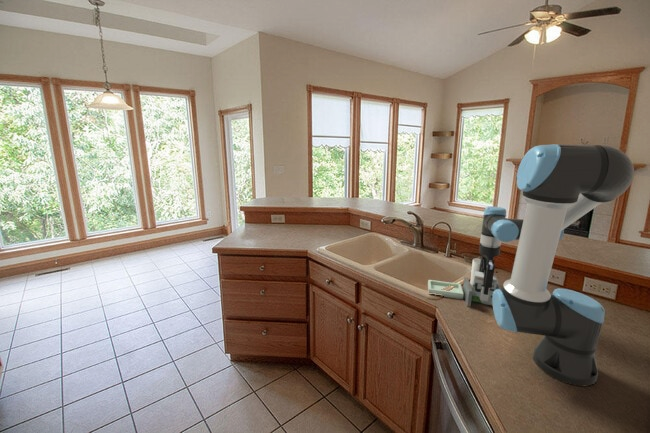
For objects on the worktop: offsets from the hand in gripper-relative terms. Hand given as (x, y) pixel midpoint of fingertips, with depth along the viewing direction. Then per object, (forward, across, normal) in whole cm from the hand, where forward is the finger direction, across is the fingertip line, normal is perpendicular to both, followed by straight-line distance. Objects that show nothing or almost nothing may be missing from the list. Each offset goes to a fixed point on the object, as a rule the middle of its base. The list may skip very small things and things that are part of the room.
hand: (482, 296), depth 128 cm
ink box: (+2, 0, 0) cm, 2 cm away
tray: (+2, +4, +14) cm, 15 cm away
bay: (+2, 0, 0) cm, 2 cm away
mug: (+2, +17, -2) cm, 17 cm away
